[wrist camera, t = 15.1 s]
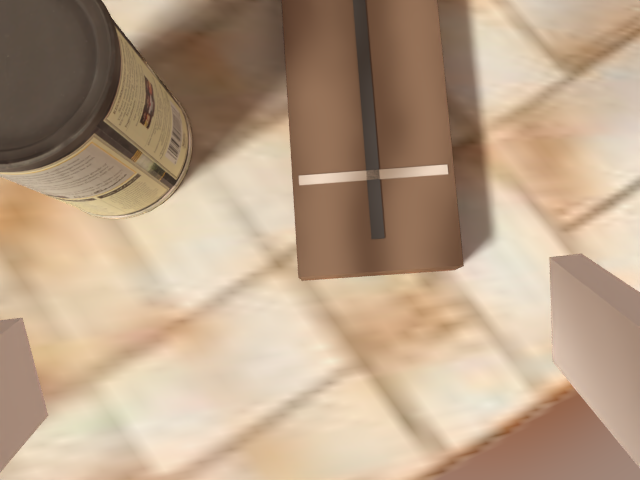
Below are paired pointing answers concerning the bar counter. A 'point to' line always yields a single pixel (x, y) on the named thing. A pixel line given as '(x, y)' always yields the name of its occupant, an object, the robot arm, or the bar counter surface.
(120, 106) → the coffee can
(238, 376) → the bar counter surface
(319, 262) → the brown slab
